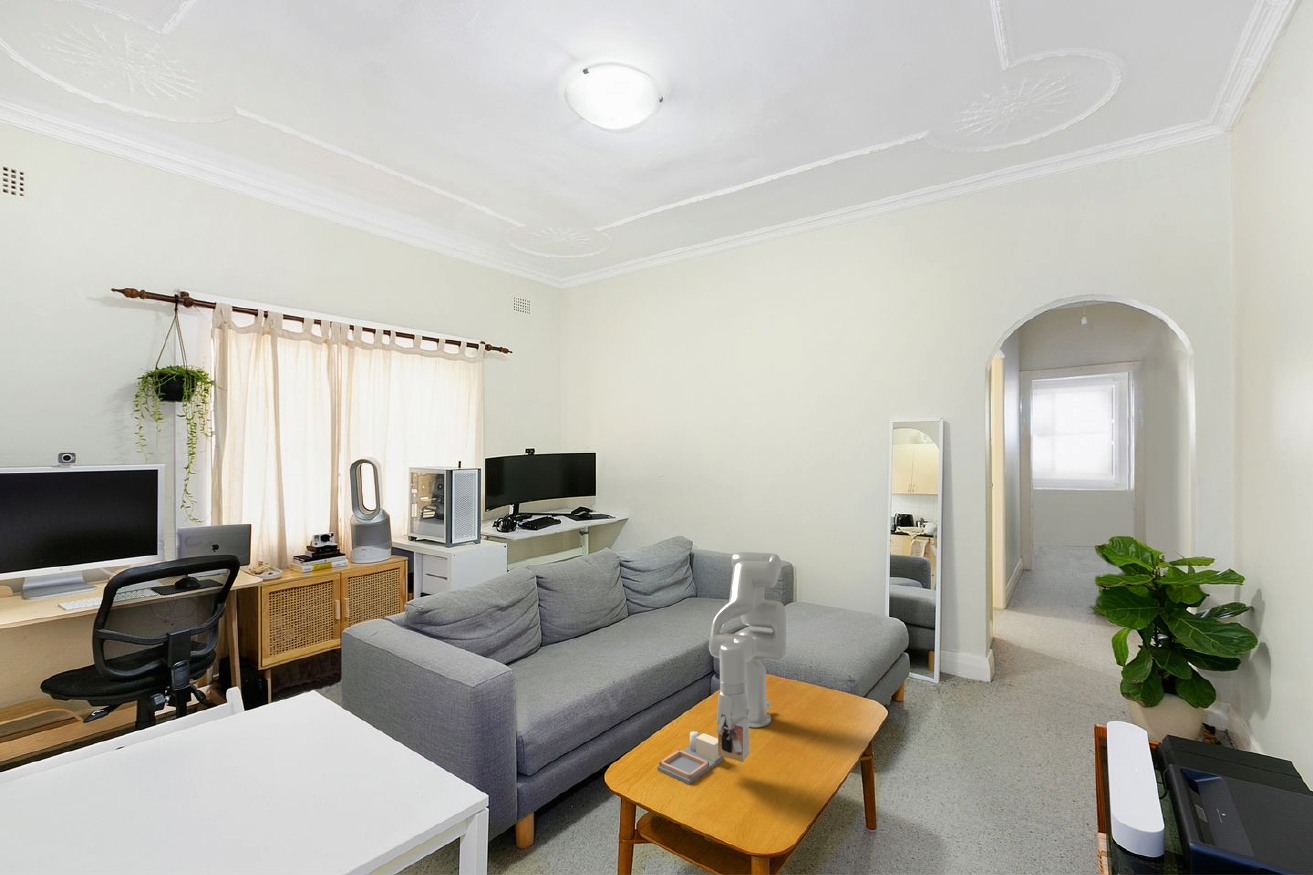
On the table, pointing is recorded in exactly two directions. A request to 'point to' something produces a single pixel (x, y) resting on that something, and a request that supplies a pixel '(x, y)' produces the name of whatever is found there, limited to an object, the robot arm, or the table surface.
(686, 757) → the assembly board
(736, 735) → the small box
